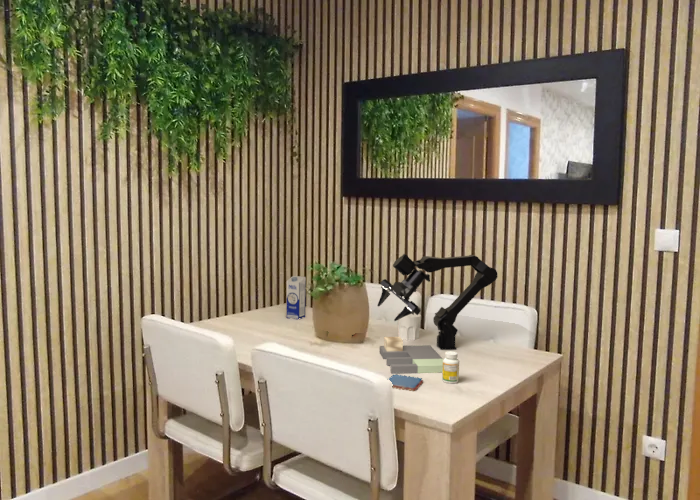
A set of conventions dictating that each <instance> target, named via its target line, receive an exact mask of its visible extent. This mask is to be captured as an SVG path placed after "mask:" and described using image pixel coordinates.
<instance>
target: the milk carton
mask: <svg viewBox="0 0 700 500" xmlns="http://www.w3.org/2000/svg"><path fill="white" fill-rule="evenodd" d="M306 282H307V281H306V276H299V275H298V276H297V275H292V276H291V277H289V278H288V279H287V280H286V319H290V318H296V319H295V320H298V319H299V318H301V319H303V318H302V317H304V318H306V293H307V292H306V291H307V289H306V284H307V283H306ZM299 320H300V319H299Z"/></svg>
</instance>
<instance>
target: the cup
mask: <svg viewBox="0 0 700 500" xmlns="http://www.w3.org/2000/svg"><path fill="white" fill-rule="evenodd" d="M400 313H401V312H399V313H397V314H396V315H397V316H398V315H399V314H400ZM397 316H396V317H397ZM421 320H422V315H421V314H420V313H419V314H418V315H416V314H415V313H414V315H413V314H409V315H407V316H404V317H402V318H401V319H399V320H397V330H398V337H400V338H401V339H402V340H403V341H404V340H406V341H415V340H418V339H420V330H421V322H422V321H421Z"/></svg>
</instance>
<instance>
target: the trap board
mask: <svg viewBox="0 0 700 500" xmlns="http://www.w3.org/2000/svg"><path fill="white" fill-rule="evenodd" d="M379 354H380V356H381V357H382V359H383V360H385V363H386V366H387V367H388V366H390V373H391V374H392V375H396V374H397V375H401V374H434V373H438V374H440V373H442V374H443V359H444V358H443V356H441V355H440V354H439V352H438V351H436V350H435V348H433V347H432V345H430V344H429V345H427V344H425V345H424V344H423V345H421V344H419V345H417V344H416V345H413V344H412V345H403V351H386V349H385V348H384V345H379Z"/></svg>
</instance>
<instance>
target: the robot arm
mask: <svg viewBox="0 0 700 500" xmlns="http://www.w3.org/2000/svg"><path fill="white" fill-rule="evenodd" d="M467 266H468V267H469V266H470V267H471V268H473V270H474V271H475V272H476V273H475V274H474V276H473V279H472V281H471V282H470V283H469V285H468V286H467V287H466V288H465V289H464V290H463V291H462V292H461V293H460V294H459V296H457V297H456V298H455V299H454V300H453V302H452V303H451V304H450V305H449V306H447V307H446V308H445V307H443V306H441V307H440V308H439V310H437V311H436V312H435V313H434V317H433V324H434V325H435V327H437V330H438V331H437V332H438V333H437V334H438V335H436V347H438V349H440V350H457V347H456V335H457V333H458V329H457V327H455V326H454V323H456V319H457V317H458V315H459V313H461V312H462V311H463V310H464V308H465V307H466V306H467V305H468V304H469V303H470V302H471V301H472V300H473V299H474V298H475V297H476V296H477V295H478V294H479V292H481V290H483V289H484V288H486V287H488V286H490V285H491V284H492V283H494V282H495V281H497V279H498V277H499V276H498V271H497V269H495V268H494V267H492V266H489V265H488V264H486V263H485V262H484V261H483V260H481V259H480V258H479V256H477V255H474V254H469V255H460V256H450V257H448V256H447V257H437V256H429V255H428V256H427V255H426V256H425V255H424V256H422V257H421V258H420V259H418V260H412V259H411V258H410V257H409V256H408V255H407V254H406V253H403V254H402V255H401V256H400V257H398V258H396V259H395V261H394V262H393V264H392V267H393V268H394V269H395V270H396V271H398V272H399V273H400V274H401V275H403V277H404V276H407V277H406V278H405V279H403V280H401V282H400V281H395V282H394V283H393V284H392V283H391V282H390V281H389V280H387V279H385V278H384V279H382V280H381V281H380V282H379V284H380V285H381V286H380V288H381V294H380V297H379V301H378V303H377V307H378V308H379V307H380V306H381V305H383V303H384V302H385V301H386V300H387V299H388V297H390V295H391V294H393V295H395V296H396V297H397V298H398V299H399V300H401V301H402V302H403V303H404V304H405V305H406V306H404V308H403V310H401V311H400V312H399V313H400V314H399V313H398V314H399V315H398V316H395V317H394V319H393V321H394V322H396V321H397V322H398V320H399V319H401V318H402V317H404V316H407V315H409V314H413V315H414V313H415V314H416V315H418V314H420V313H421V307H419V306H418V305H417V303H415V302H413V301H412V300H410V297H412V295H413V294H414V293H416V292H418V291H417V289H418V288H419V287H420V285H421V284H423V282H424V281H427V282H428V283H430V282H431V278H430V276H431V275H430V274H429V273H434V272H437V271H440V270H443V269H446V268H447V269H448V268H458V267H467ZM424 271H425V272H427V273H425V272H424ZM390 292H391V293H390Z"/></svg>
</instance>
